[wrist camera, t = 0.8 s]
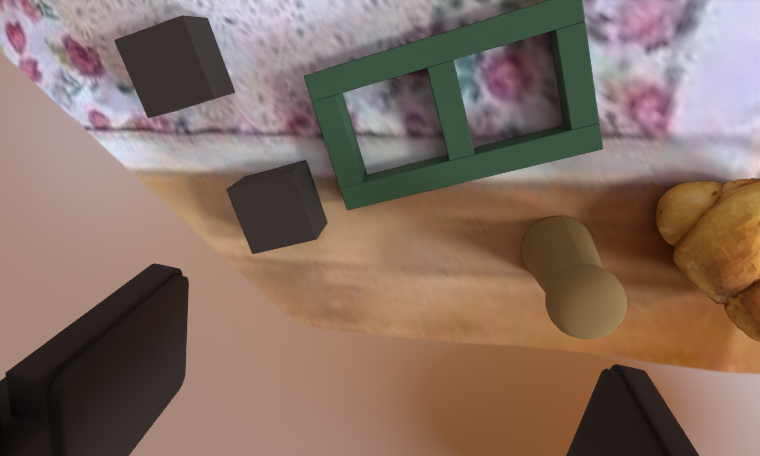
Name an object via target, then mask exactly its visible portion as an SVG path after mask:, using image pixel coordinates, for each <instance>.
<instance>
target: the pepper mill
mask: <svg viewBox="0 0 760 456" xmlns="http://www.w3.org/2000/svg"><path fill="white" fill-rule="evenodd" d="M521 256H522V259H523V261H524V264H525V265H526V267H527V268H528V270H529V271H530V272H531V274H532V275H533V276H534V278H535V279H536V281H537V282H538V283H539V285H540V286H541V287H542V289H543V290H544V292H545V293H546V309H547V312H548V314H549V317H550V319H551V321H552V322H553V323H554V324H555V325H556V326H557V327H558V328H559V329H560V330H561V331H562V332H564V333H566V334H567V335H569V336H572V337H576V338H580V339H596V338H599V337H603V336H606V335H607V334H609V333H611V332H612V331H614V330H615V329H616V328H617V327H618V325H619V324H620V323H621V322H622V320H623V318H624V316H625V313H626V311H627V297H626V294H625V291H624V288H623V286H622V285H621V283H620V282H619V281H618V280H617V279H616V277H615V276H614V275H613V274H611V273H610V272H608V271H606V270H605V269H603V267H602V264H601V262H600V259H599V256H598V253H597V250H596V248H595V245H594V242H593V239H592V236H591V233H590V231H589V230H588V229H587V228H586V227H585V225H584V224H583V223H581V222H579V221H578V220H576V219H574V218H570V217H566V216H552V217H549V218H546V219H543V220H540V221H539V222H537V223H536V224H535V225H533V226H532V227H531V228H530V229H529V230H528V232H527V233H526V234H525V236H524V238H523V241H522V244H521Z"/></svg>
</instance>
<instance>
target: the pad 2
mask: <svg viewBox="0 0 760 456" xmlns="http://www.w3.org/2000/svg"><path fill="white" fill-rule="evenodd" d="M227 192H228V195H229V197H230V200H231V202H232V205H233V207H234V210H235V212H236V215H237V217H238V219H239V222H240V224H241V227H242V229H243V232H244V234H245V237H246V239H247V242H248V244H249V247H250V249H251V252H252V254H255V253H260V252H264V251H269V250H273V249H277V248H282V247H286V246H290V245H295V244H299V243H303V242H308V241H312V240H316V239H317V238H318V237H319V235H320V234H321V232H322V231H323V229H324V228H325V226H326V224H327V220H326V217H325V214H324V211H323V208H322V205H321V202H320V199H319V196H318V193H317V190H316V187H315V184H314V182H313V179H312V176H311V173H310V170H309V167H308V164H307V161H306V160H305V161H301V162H297V163H294V164H290V165H286V166H282V167H279V168H275V169H271V170H267V171H264V172H260V173H256V174H253V175H249V176H245V177H244V178H242V179H241V180H239V181H238V182H236V183H235V184H233V185H232V186H230V187H229V188H227Z"/></svg>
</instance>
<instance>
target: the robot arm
mask: <svg viewBox="0 0 760 456" xmlns="http://www.w3.org/2000/svg"><path fill="white" fill-rule="evenodd" d="M188 288H189V283H188V278H187V277H185V276H182V272H181V270H180V269H179V268H174V267H169V266H165V265H160V264H152V265H150V266H149V267H147V268H146V269H145V270H143V271H142V272H141V273H140V274H138V275H137V276H136V277H134V278H133V279H131V280H130V281H129V282H127V283H126V284H125V285H123V286H122V287H120V288H119V289H118V290H116V291H115V292H114V293H112V294H111V295H110V296H108V297H107V298H106V299H104V300H103V301H102V302H100V303H99V304H98V305H96V306H95V307H94V308H92V309H91V310H89V311H88V312H87V313H85V314H84V315H83V316H82V317H80V318H79V319H77V320H76V321H75V322H73V323H72V324H71V325H69V326H68V327H67V328H65V329H64V330H63V331H61V332H60V333H58V334H57V335H56V336H54V337H53V338H52V339H50V340H49V341H48V342H46V343H45V344H44V345H42V346H41V347H40V348H38V349H37V350H36V351H34V352H33V353H32V354H30V355H29V356H27V357H26V358H25V359H23V360H22V361H21V362H19V363H18V364H17V365H15V366H14V367H13V368H11V369H10V370H9V371H7V372H6V377H5V378H4V379H2V380H1V381H0V456H129V455H130V453H131V452H132V451H133V449H134V448H135V447H136V446H137V444H138V443H139V442H140V440H141V439H142V438H143V436H144V435H145V434H146V433H147V431H148V430H149V428H150V427H151V426H152V425H153V423H154V422H155V421H156V419H157V418H158V417H159V416H160V414H161V413H162V412H163V410H164V409H165V408H166V407H167V405H168V404H169V403H170V401H171V400H172V398H173V397H174V396H175V395H176V393H177V392H178V391H179V389H180V388H181V386H182V384H183V381H184V378H185V369H186V368H185V367H186V342H187V314H188ZM566 456H699V455H698V453H697V452H696V450H695V448H694V447H693V445H692V444H691V442H690V440H689V439H688V438H687V436H686V434H685V433H684V431H683V429H682V428H681V426H680V425H679V423H678V422H677V420H676V418H675V417H674V415H673V414H672V412H671V411H670V409H669V408H668V406H667V404H666V403H665V401H664V399H663V398H662V396H661V395H660V393H659V392H658V390H657V389H656V387H655V385H654V384H653V382H652V381H651V379H650V378H649V376H648V374H647V373H646V372H645V371H643V370H641V369H636V368H632V367H627V366H622V365H618V364H616V365H613V366H612V367H611V368H610V370H609V369H604V370H603V371H602V372H601V375H600V377H599V379H598V381H597V384H596V386H595V389H594V391H593V393H592V396H591V398H590V401H589V403H588V405H587V408H586V410H585V413H584V415H583V417H582V420H581V422H580V425H579V427H578V429H577V432H576V434H575V436H574V439H573V441H572V444H571V446H570V448H569V451H568V453H567V455H566Z"/></svg>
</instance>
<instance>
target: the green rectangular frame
mask: <svg viewBox="0 0 760 456" xmlns="http://www.w3.org/2000/svg"><path fill="white" fill-rule="evenodd" d="M546 32H549V35H550V42H551V48H552V54H553V60H554V66H555V72H556V78H557V85H558V91H559V97H560V103H561V109H562V115H563V121H564V125H562V126H558V127H554V128H550V129H546V130H542V131H539V132H535V133H531V134H527V135H523V136H519V137H515V138H511V139H507V140H503V141H499V142H495V143H491V144H487V145H483V146H480V147H476V148H473V144H472V139H471V135H470V131H469V126H468V122H467V117H466V113H465V109H464V104H463V100H462V95H461V91H460V86H459V82H458V78H457V73H456V69H455V64H454V60H455V59H458V58H462V57H465V56H468V55H472V54H475V53H478V52H482V51H485V50H489V49H492V48H495V47H499V46H502V45H505V44H509V43H512V42H516V41H519V40H522V39H526V38H529V37H532V36H536V35H539V34H543V33H546ZM424 68H427V71H428V75H429V79H430V83H431V87H432V91H433V95H434V99H435V103H436V107H437V112H438V116H439V120H440V124H441V128H442V132H443V136H444V140H445V144H446V148H447V152H448V155H444V156H440V157H436V158H432V159H428V160H424V161H421V162H417V163H413V164H409V165H405V166H401V167H397V168H393V169H389V170H385V171H381V172H377V173H373V174H369V175H367V173H366V169H365V166H364V163H363V159H362V156H361V153H360V150H359V146H358V143H357V140H356V136H355V133H354V130H353V126H352V123H351V120H350V117H349V113H348V110H347V107H346V103H345V100H344V97H343V92H347V91H350V90H354V89H357V88H360V87H364V86H367V85H370V84H374V83H377V82H381V81H384V80H387V79H391V78H394V77H397V76H401V75H404V74H408V73H411V72H414V71H418V70H421V69H424ZM304 79H305V82H306V85H307V88H308V91H309V94H310V97H311V100H312V101H313V102H312V104H313V107H314V110H315V113H316V116H317V119H318V122H319V125H320V129H321V132H322V135H323V138H324V141H325V144H326V147H327V150H328V153H329V156H330V159H331V162H332V165H333V169H334V172H335V175H336V178H337V181H338V184H339V187H340V190H341V193H342V196H343V199H344V202H345V205H346V208H347V210H351V209H355V208H360V207H364V206H368V205H372V204H376V203H380V202H385V201H389V200H393V199H397V198H401V197H405V196H410V195H414V194H418V193H422V192H426V191H431V190H435V189H439V188H443V187H447V186H451V185H456V184H460V183H464V182H468V181H472V180H476V179H481V178H485V177H489V176H493V175H497V174H501V173H506V172H510V171H514V170H518V169H522V168H526V167H531V166H535V165H539V164H543V163H547V162H551V161H556V160H560V159H564V158H568V157H572V156H576V155H581V154H585V153H589V152H593V151H597V150H602V149H603V146H602V138H601V131H600V124H599V118H598V110H597V103H596V96H595V89H594V82H593V75H592V67H591V60H590V53H589V46H588V39H587V31H586V24H585V17H584V10H583V3H582V0H547V1H544V2H541V3H537V4H534V5H531V6H528V7H525V8H521V9H518V10H515V11H512V12H508V13H505V14H502V15H499V16H495V17H492V18H489V19H486V20H483V21H479V22H476V23H473V24H470V25H466V26H463V27H460V28H457V29H454V30H450V31H447V32H444V33H441V34H437V35H434V36H431V37H428V38H425V39H421V40H418V41H415V42H412V43H408V44H405V45H402V46H399V47H395V48H392V49H389V50H386V51H383V52H379V53H376V54H373V55H370V56H366V57H363V58H360V59H357V60H354V61H350V62H347V63H344V64H341V65H337V66H334V67H331V68H328V69H324V70H321V71H318V72H315V73H312V74H308V75H305V76H304Z"/></svg>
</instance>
